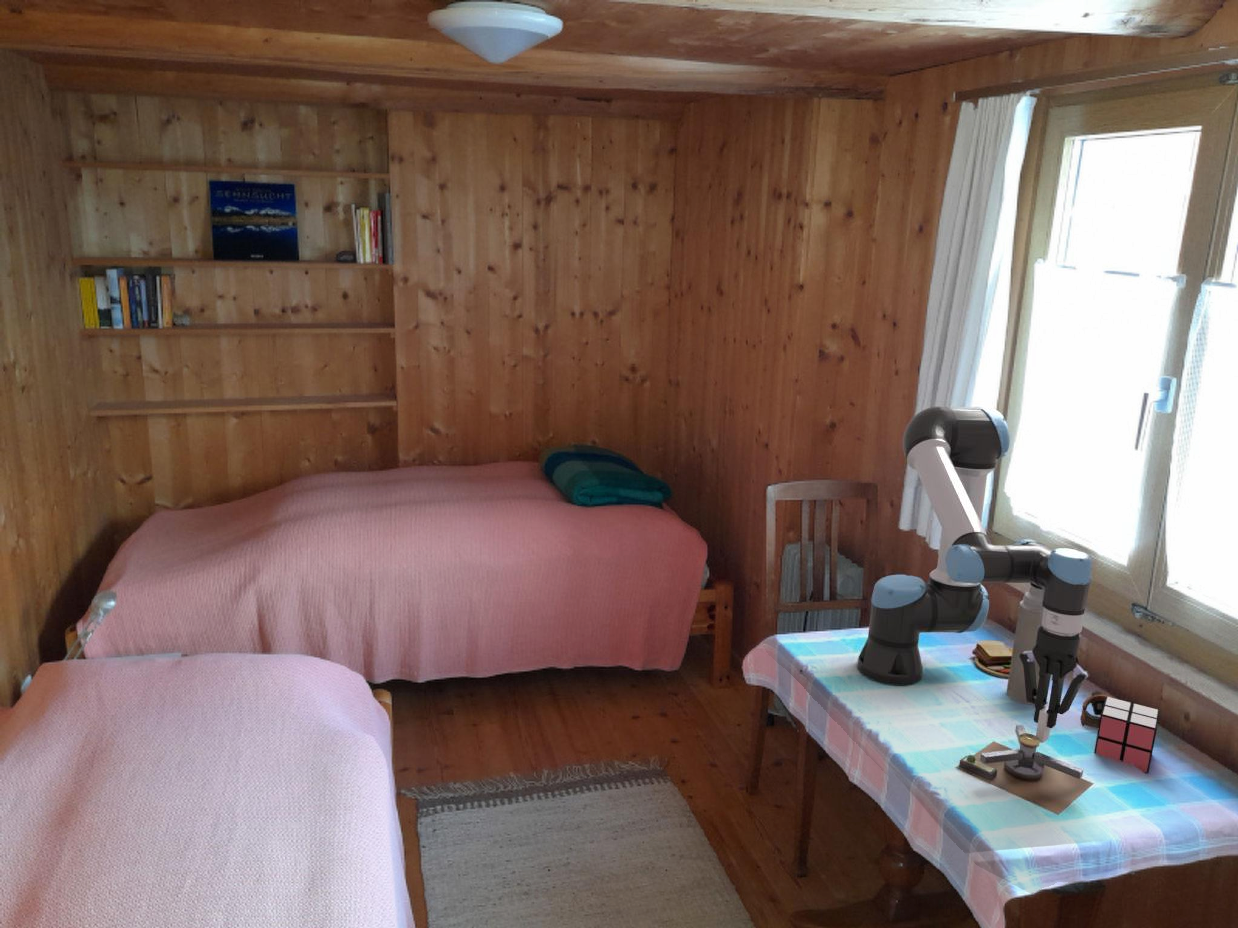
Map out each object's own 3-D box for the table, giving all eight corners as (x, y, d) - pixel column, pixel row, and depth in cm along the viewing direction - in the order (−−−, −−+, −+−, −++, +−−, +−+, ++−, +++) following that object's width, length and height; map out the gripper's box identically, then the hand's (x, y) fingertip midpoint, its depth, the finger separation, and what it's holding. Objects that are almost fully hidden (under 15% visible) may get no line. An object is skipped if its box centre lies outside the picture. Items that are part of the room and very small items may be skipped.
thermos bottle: (1007, 685, 224) (1024, 573, 218) (1043, 693, 221) (1062, 580, 215) (1005, 699, 217) (1022, 584, 211) (1043, 707, 214) (1061, 591, 208)
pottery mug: (1139, 740, 202) (1132, 714, 199) (1094, 753, 205) (1086, 727, 201) (1116, 702, 213) (1108, 675, 210) (1073, 714, 215) (1064, 688, 212)
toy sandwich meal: (987, 679, 228) (989, 661, 227) (964, 655, 241) (966, 638, 240) (1037, 680, 229) (1040, 662, 227) (1012, 656, 242) (1014, 639, 241)
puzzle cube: (1148, 774, 188) (1157, 729, 186) (1092, 758, 193) (1100, 714, 191) (1151, 753, 197) (1159, 709, 194) (1098, 738, 202) (1105, 695, 199)
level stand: (954, 772, 186) (957, 754, 185) (992, 746, 196) (995, 729, 196) (1057, 820, 172) (1060, 801, 171) (1092, 788, 182) (1095, 770, 181)
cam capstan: (1080, 798, 176) (1087, 760, 174) (978, 781, 180) (983, 744, 179) (1063, 756, 191) (1069, 720, 189) (969, 741, 195) (974, 706, 193)
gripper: (1018, 622, 185) (1001, 732, 191) (1086, 645, 176) (1067, 759, 181) (1035, 613, 190) (1018, 720, 196) (1102, 635, 181) (1083, 746, 186)
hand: (1041, 739), depth 188 cm, fingers closed
